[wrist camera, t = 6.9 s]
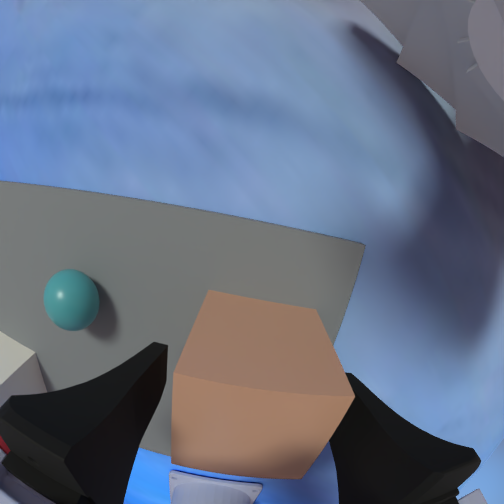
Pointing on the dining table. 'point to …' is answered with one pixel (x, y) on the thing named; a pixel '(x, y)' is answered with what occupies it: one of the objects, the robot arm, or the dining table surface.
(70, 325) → the teal ball
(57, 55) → the dining table surface
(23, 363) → the pale gray cube
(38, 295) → the mat
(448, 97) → the white bladed rotor
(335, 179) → the dining table surface
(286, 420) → the clay colored cube
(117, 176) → the dining table surface
